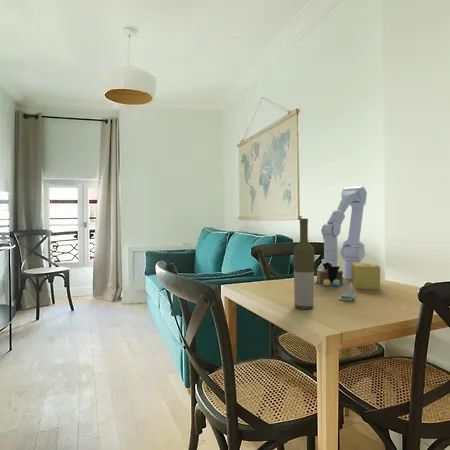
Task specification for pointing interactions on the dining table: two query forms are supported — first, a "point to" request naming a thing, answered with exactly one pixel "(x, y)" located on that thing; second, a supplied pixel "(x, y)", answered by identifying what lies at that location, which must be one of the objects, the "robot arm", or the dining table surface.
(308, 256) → the bottle
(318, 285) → the mat
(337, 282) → the marble teal
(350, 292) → the pacifier
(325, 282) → the marble amber
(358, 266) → the cheese
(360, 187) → the robot arm
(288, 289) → the dining table surface
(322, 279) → the walnut cover
